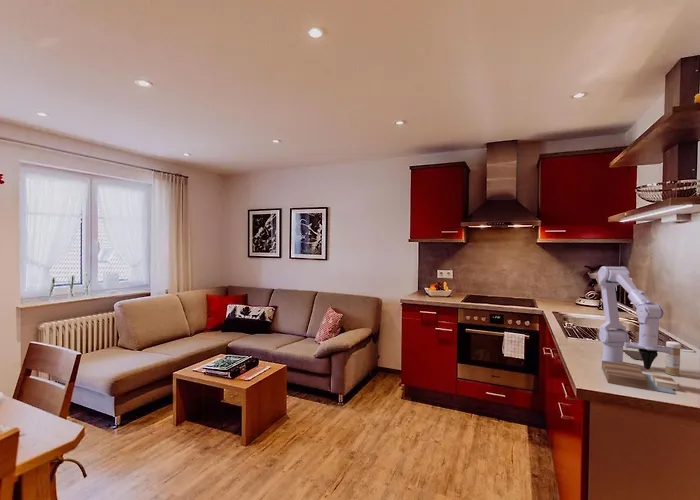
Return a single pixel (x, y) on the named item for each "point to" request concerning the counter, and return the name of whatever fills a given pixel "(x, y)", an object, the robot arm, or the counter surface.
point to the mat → (654, 388)
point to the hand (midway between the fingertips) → (646, 368)
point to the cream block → (664, 381)
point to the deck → (624, 374)
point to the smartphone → (633, 354)
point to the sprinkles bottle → (673, 358)
